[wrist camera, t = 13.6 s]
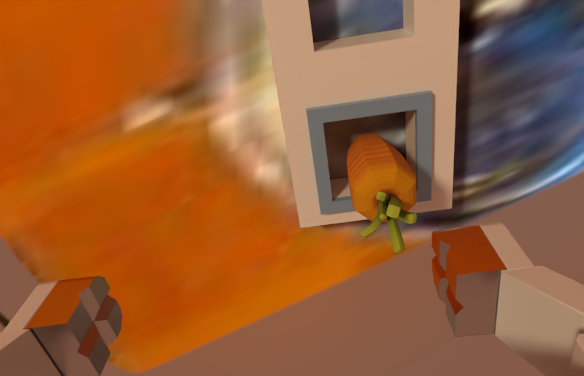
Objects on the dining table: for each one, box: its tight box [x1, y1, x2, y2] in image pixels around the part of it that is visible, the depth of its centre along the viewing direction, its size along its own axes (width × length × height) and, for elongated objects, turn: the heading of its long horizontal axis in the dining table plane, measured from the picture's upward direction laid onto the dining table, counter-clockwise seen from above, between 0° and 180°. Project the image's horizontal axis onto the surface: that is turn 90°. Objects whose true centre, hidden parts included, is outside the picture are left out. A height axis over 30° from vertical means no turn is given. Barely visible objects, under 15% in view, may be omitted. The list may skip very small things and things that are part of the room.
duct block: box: [262, 0, 460, 228], centre depth 35 cm, size 14×26×4 cm, turn 9°
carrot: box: [347, 133, 417, 254], centre depth 33 cm, size 5×5×15 cm
